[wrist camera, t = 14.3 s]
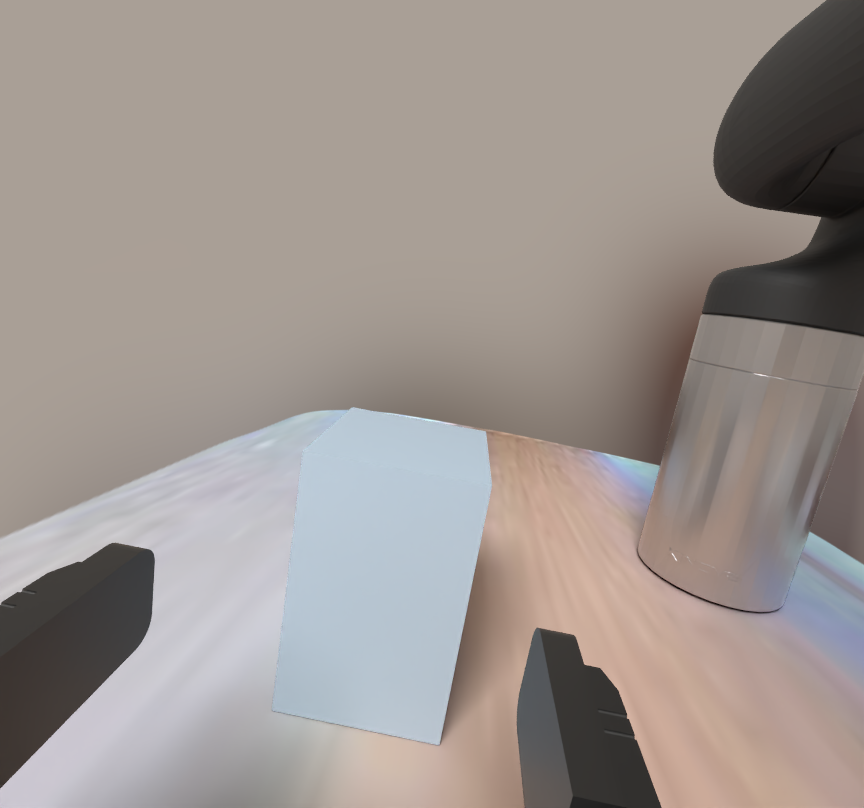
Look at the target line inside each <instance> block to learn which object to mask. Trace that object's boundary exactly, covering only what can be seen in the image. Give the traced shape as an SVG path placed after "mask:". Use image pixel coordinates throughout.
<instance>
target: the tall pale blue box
mask: <svg viewBox="0 0 864 808" xmlns="http://www.w3.org/2000/svg"><path fill="white" fill-rule="evenodd" d="M491 488H492V482H491V473H490V464H489V455H488V447H487V438H486V431H480V430H474V429H469V428H463V427H458V426H452V425H447V424H441V423H436V422H430V421H425V420H419V419H414V418H408V417H403V416H397V415H392V414H386V413H381V412H375V411H369V410H364V409H358V408H353V407H352V408H351V409H350V410H349V411H348V412H346V413H345V414H344V415H343V416H342V417H341V418H340V419H338V420H337V421H336V422H335V423H334V424H333V425H332V426H330V427H329V428H328V429H327V430H326V431H325V432H324V433H322V434H321V435H320V436H319V437H318V438H317V439H316V440H315V441H313V442H312V443H311V444H310V445H309V446H308V447H307V448H305V449H304V450H303V453H302V461H301V470H300V478H299V487H298V495H297V503H296V512H295V520H294V528H293V537H292V545H291V554H290V562H289V570H288V579H287V587H286V596H285V604H284V612H283V621H282V629H281V638H280V646H279V654H278V663H277V671H276V680H275V688H274V696H273V705H272V711H276V712H281V713H285V714H290V715H295V716H300V717H305V718H310V719H314V720H319V721H324V722H329V723H334V724H339V725H343V726H348V727H353V728H358V729H363V730H367V731H372V732H377V733H382V734H387V735H392V736H396V737H401V738H406V739H411V740H416V741H421V742H425V743H430V744H435V745H440V740H441V735H442V730H443V725H444V720H445V715H446V710H447V705H448V700H449V695H450V690H451V686H452V681H453V676H454V671H455V666H456V661H457V656H458V651H459V646H460V641H461V636H462V631H463V626H464V621H465V616H466V612H467V607H468V602H469V597H470V592H471V587H472V582H473V577H474V572H475V567H476V562H477V557H478V552H479V547H480V542H481V538H482V533H483V528H484V523H485V518H486V513H487V508H488V503H489V498H490V493H491Z"/></svg>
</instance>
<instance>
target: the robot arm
mask: <svg viewBox="0 0 864 808" xmlns="http://www.w3.org/2000/svg"><path fill="white" fill-rule="evenodd" d="M714 170H715V176H716V178H717V181H718V183H719V185H720V187H721V188H722V189H723V191H724V192H725V193H726V194H727V195H728V196H730V197H731V198H733V199H735V200H736V201H738V202H741V203H743V204H746V205H749V206H753V207H758V208H763V209H769V210H776V211H783V212H790V213H797V214H804V215H812V216H819V217H821V220H820V223H819V225H818V227H817V230H816V232H815V234H814V236H813V238H812V240H811V242H810V243H809V245H808V247H807V248H806V249H805V250H803V251H802V252H800V253H798V254H796V255H794V256H791V257H789V258H786V259H783V260H780V261H775V262H771V263H766V264H760V265H753V266H747V267H740V268H735V269H731V270H727V271H724V272H722V273H720V274H718V275H717V276H716V277H715V278H714V279H713V281H712V282H711V284H710V287H709V289H708V292H707V295H706V299H705V303H704V307H703V311H702V313H703V314H704V315H701V318H700V321H699V325H698V328H697V332H696V336H695V340H694V343H693V347H692V351H691V354H690V360H689V362H688V366H687V370H686V374H685V377H684V381H683V385H682V388H681V392H680V396H679V399H678V403H677V407H676V410H675V414H674V417H673V421H672V425H671V428H670V432H669V436H668V439H667V443H666V447H665V450H664V454H663V458H662V461H661V465H660V469H659V472H658V476H657V480H656V483H655V487H654V491H653V494H652V498H651V501H650V504H649V508H648V512H647V516H646V519H645V523H644V527H643V531H642V534H641V538H640V542H639V546H638V553H639V556H640V557H641V559H642V560H643V562H644V563H645V564H646V565H647V566H648V567H649V568H650V569H651V570H652V571H654V572H655V573H657V574H658V575H659V576H661V577H662V578H664V579H665V580H667V581H669V582H670V583H672V584H674V585H675V586H677V587H679V588H681V589H683V590H685V591H687V592H689V593H691V594H693V595H696V596H699V597H701V598H704V599H706V600H709V601H711V602H715V603H718V604H721V605H724V606H727V607H732V608H736V609H741V610H746V611H755V612H770V611H774V610H777V609H780V608H781V607H782V606H783V605H784V602H785V599H786V596H787V593H788V591H789V588H790V585H791V582H792V579H793V576H794V573H795V570H796V568H797V565H798V562H799V559H800V556H801V553H802V550H803V548H804V545H805V542H806V540H807V537H808V534H809V531H810V528H811V525H812V522H813V519H814V516H815V514H816V511H817V508H818V505H819V502H820V499H821V496H822V493H823V491H824V487H825V485H826V482H827V479H828V476H829V473H830V470H831V467H832V464H833V462H834V459H835V456H836V453H837V450H838V447H839V444H840V442H841V439H842V436H843V433H844V430H845V427H846V424H847V421H848V418H849V415H850V413H851V410H852V407H853V404H854V401H855V398H856V395H857V392H858V391H857V390H858V389H859V386H860V383H861V380H862V377H863V374H864V0H826V1H825V2H824V3H823V4H821V5H820V6H819V7H818V8H816V9H815V10H814V11H813V12H811V13H810V14H809V15H808V16H807V17H805V18H804V19H803V20H802V21H801V22H799V23H798V24H797V25H796V26H795V27H793V28H792V29H791V30H790V31H789V32H788V33H787V34H785V35H784V36H783V37H782V38H781V39H780V40H779V41H778V42H777V43H776V44H775V45H774V46H773V47H772V48H771V49H770V50H769V51H768V52H767V53H766V54H765V55H764V57H763V58H762V59H761V60H760V61H759V62H758V64H757V65H756V66H755V67H754V69H753V70H752V71H751V72H750V74H749V75H748V76H747V78H746V79H745V81H744V82H743V84H742V85H741V87H740V88H739V90H738V91H737V93H736V95H735V97H734V99H733V100H732V102H731V104H730V105H729V107H728V109H727V111H726V113H725V116H724V118H723V120H722V123H721V125H720V128H719V131H718V134H717V137H716V142H715V148H714ZM154 565H155V558H154V554H153V552H152V551H151V550H149V549H144V548H139V547H134V546H129V545H124V544H119V543H111V544H109V545H107V546H106V547H104V548H103V549H101V550H100V551H98V552H97V553H95V554H94V555H92V556H90V557H89V558H87V559H86V560H84V561H83V562H76V563H74V564H71V565H68V566H65V567H63V568H60V569H57V570H55V571H52V572H49V573H47V574H45V575H44V576H42V577H41V578H39V579H38V580H36V581H34V582H33V583H31V584H30V585H28V586H26V587H25V588H23V590H22V592H21V593H20V592H17V593H15V594H14V595H12V596H11V597H9V598H8V599H6V600H4V601H3V602H2V603H1V605H0V788H1V787H2V786H3V785H4V784H5V783H6V782H7V781H8V780H9V779H10V778H11V777H12V776H13V775H14V774H15V773H16V772H17V771H18V770H19V769H20V768H21V767H22V766H23V765H24V764H25V762H26V761H27V760H28V759H29V758H30V757H31V756H32V755H33V754H34V753H35V752H36V751H37V750H38V749H39V748H40V747H41V746H42V745H43V744H44V743H45V742H46V741H47V740H48V739H49V738H50V737H51V736H52V735H53V734H54V733H55V732H56V731H57V730H58V729H59V728H60V727H61V726H62V725H63V724H64V723H65V721H66V720H67V719H68V718H69V717H70V716H71V715H72V714H73V713H74V712H75V711H76V710H77V709H78V708H79V707H80V706H81V705H82V704H83V703H84V702H85V701H86V700H87V699H88V698H89V697H90V696H91V695H92V694H93V693H94V692H95V691H96V690H97V689H98V688H99V687H100V686H101V685H102V684H103V683H104V682H105V680H106V679H107V678H108V677H109V676H110V675H111V674H112V673H113V672H114V671H115V670H116V669H117V668H118V667H119V666H120V665H121V664H122V663H123V662H124V661H125V660H126V659H127V658H128V657H129V656H130V655H131V654H132V653H133V652H134V651H135V650H136V649H137V647H138V646H139V645H140V644H141V642H142V640H143V639H144V637H145V635H146V633H147V631H148V628H149V625H150V622H151V616H152V601H153V583H154ZM517 734H518V744H519V754H520V764H521V774H522V785H523V795H524V805H525V808H661V805H660V802H659V800H658V797H657V794H656V792H655V789H654V786H653V783H652V781H651V778H650V775H649V773H648V770H647V767H646V764H645V762H644V759H643V756H642V754H641V751H640V748H639V745H638V743H637V740H635V739H634V732H633V729H632V726H631V724H630V721H629V719H627V713H626V710H625V707H624V705H623V702H622V699H621V697H620V694H619V691H618V690H617V688H616V687H615V686H614V685H613V683H612V682H611V681H610V680H609V679H608V677H607V676H606V675H605V674H604V672H603V671H602V670H601V669H600V668H597V667H592V666H587V665H584V663H583V659H582V656H581V653H580V649H579V646H578V643H577V640H576V637H575V636H574V635H571V634H566V633H561V632H556V631H551V630H546V629H541V628H536V630H535V632H534V634H533V638H532V642H531V646H530V650H529V655H528V659H527V663H526V667H525V672H524V676H523V680H522V684H521V689H520V693H519V699H518V707H517Z"/></svg>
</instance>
